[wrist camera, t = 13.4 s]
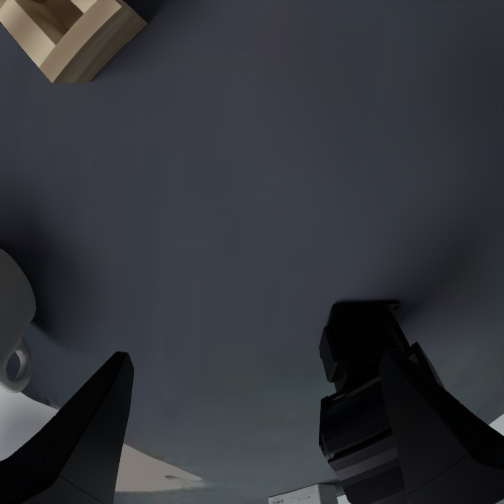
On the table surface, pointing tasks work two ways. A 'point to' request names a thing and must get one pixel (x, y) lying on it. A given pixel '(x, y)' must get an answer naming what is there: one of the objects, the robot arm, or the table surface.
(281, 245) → the table surface
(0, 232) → the table surface
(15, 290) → the coffee mug
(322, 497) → the hard drive box
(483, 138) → the table surface
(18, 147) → the table surface
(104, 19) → the oak box
